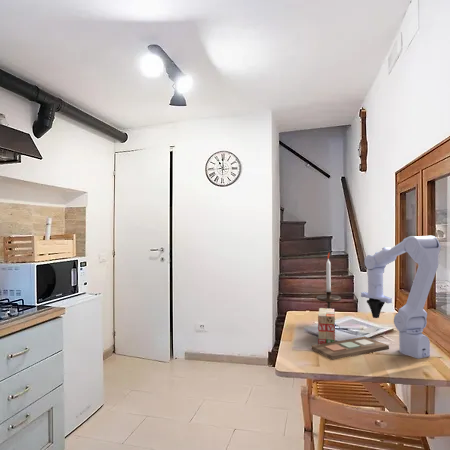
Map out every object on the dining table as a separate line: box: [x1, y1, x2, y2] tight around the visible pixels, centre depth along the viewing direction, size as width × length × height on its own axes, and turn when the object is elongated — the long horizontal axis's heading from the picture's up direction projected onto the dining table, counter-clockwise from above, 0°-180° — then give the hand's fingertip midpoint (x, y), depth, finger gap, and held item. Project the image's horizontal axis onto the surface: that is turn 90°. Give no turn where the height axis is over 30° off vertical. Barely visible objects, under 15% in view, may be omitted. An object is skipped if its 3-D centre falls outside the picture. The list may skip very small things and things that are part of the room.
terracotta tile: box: [325, 344, 345, 352], centre depth 133 cm, size 5×5×2 cm
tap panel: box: [311, 336, 390, 361], centre depth 136 cm, size 12×26×2 cm, turn 113°
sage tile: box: [340, 342, 360, 349], centre depth 136 cm, size 5×5×2 cm
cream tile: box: [355, 339, 374, 346], centre depth 139 cm, size 5×5×2 cm
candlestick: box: [316, 253, 342, 326], centre depth 167 cm, size 11×11×35 cm
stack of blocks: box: [317, 307, 336, 345], centre depth 151 cm, size 21×6×12 cm, turn 163°
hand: (375, 317), depth 149 cm, fingers closed
